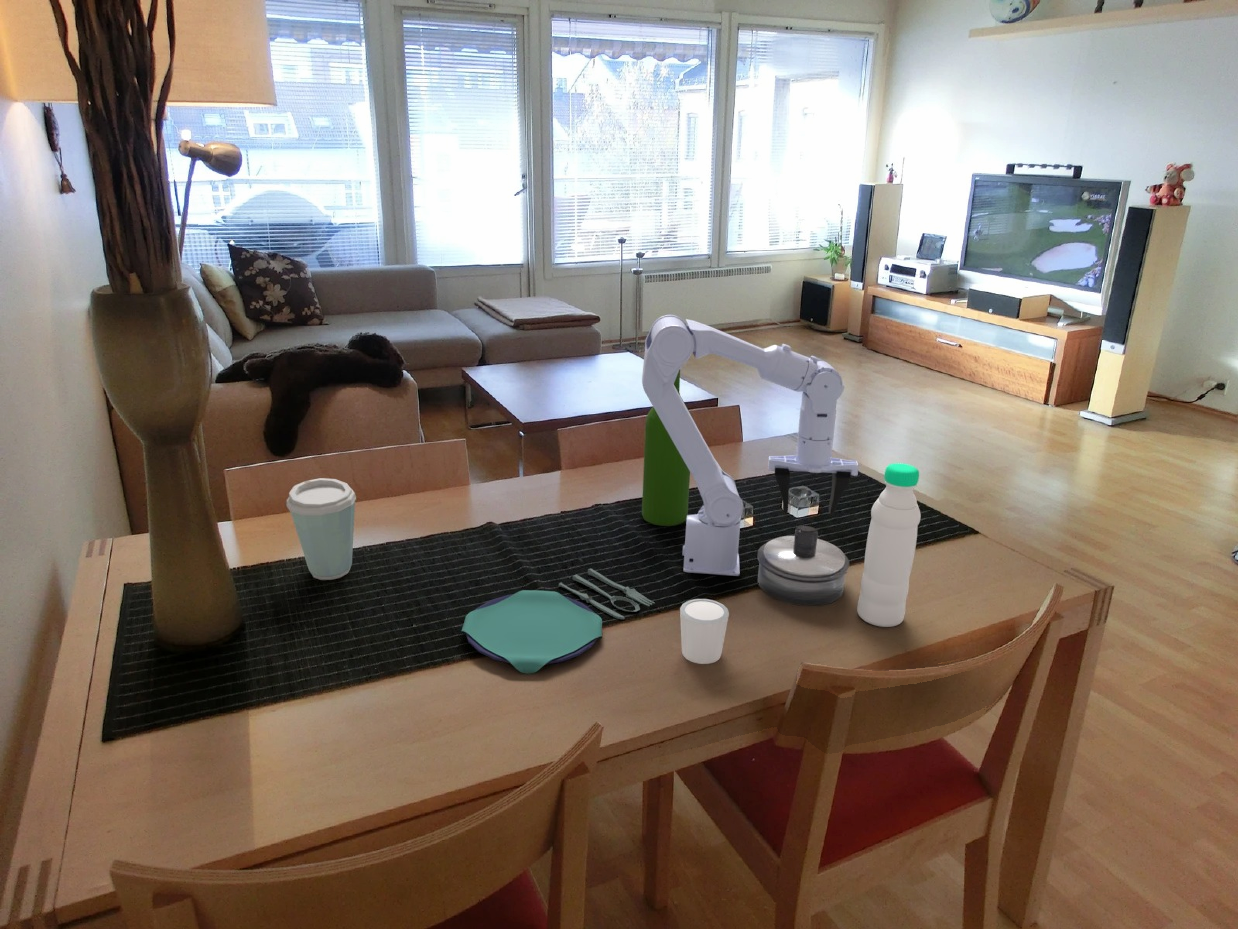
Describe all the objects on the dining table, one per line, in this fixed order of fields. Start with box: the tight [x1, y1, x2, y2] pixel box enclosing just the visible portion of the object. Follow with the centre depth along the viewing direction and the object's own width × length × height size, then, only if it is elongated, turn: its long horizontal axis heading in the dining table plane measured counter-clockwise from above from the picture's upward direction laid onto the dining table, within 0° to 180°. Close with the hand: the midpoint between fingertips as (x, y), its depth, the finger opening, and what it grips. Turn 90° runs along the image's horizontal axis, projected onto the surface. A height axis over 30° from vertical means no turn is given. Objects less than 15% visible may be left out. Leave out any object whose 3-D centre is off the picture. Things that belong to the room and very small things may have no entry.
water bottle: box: [856, 462, 922, 628], centre depth 129 cm, size 7×7×25 cm
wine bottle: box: [641, 368, 693, 527], centre depth 161 cm, size 9×9×32 cm
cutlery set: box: [461, 568, 656, 674], centre depth 129 cm, size 20×30×2 cm, turn 136°
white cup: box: [679, 598, 730, 665], centre depth 121 cm, size 7×7×7 cm
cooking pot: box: [757, 541, 850, 607], centre depth 142 cm, size 15×15×5 cm
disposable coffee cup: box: [285, 477, 357, 581], centre depth 139 cm, size 11×11×15 cm
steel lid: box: [763, 525, 846, 578], centre depth 139 cm, size 13×13×5 cm
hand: (808, 511), depth 145 cm, fingers open, 7 cm apart
